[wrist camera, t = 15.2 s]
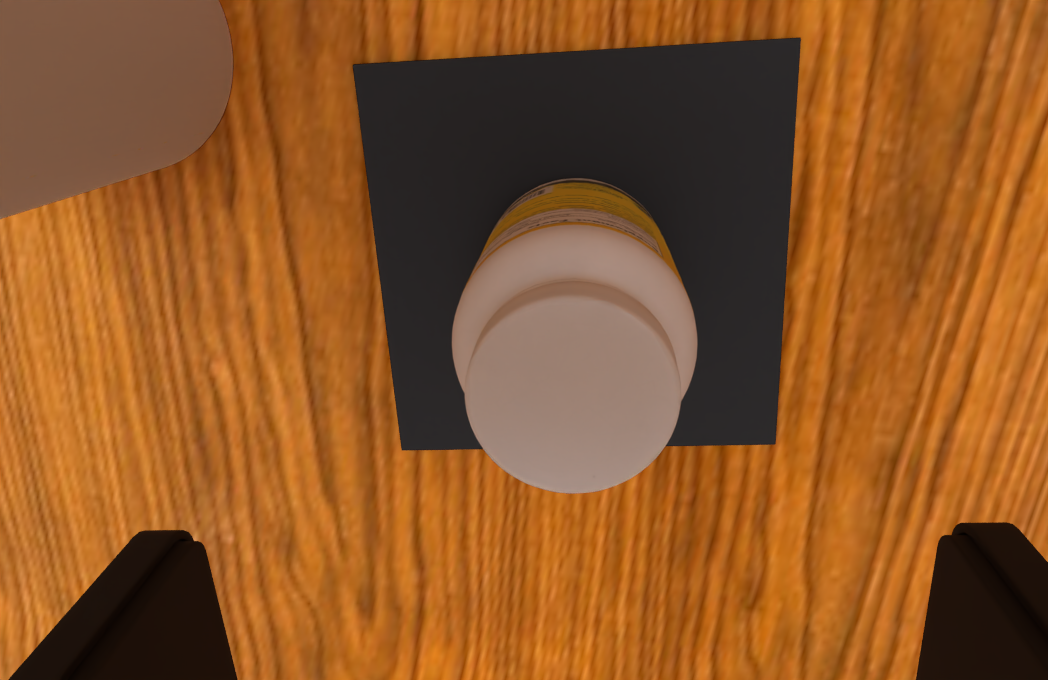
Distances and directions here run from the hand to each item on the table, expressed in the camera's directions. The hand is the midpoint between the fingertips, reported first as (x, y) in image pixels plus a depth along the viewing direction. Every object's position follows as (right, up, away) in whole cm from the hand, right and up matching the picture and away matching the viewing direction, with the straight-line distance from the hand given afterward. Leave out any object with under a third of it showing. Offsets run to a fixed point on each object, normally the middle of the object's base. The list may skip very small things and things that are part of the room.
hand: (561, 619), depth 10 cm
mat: (+1, +6, +17) cm, 18 cm away
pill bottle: (+1, +6, +17) cm, 18 cm away
